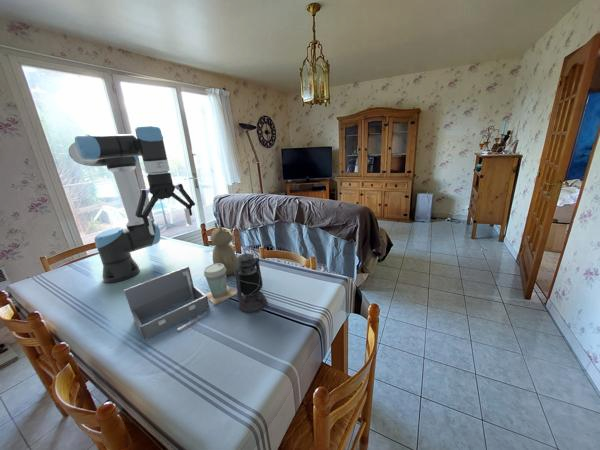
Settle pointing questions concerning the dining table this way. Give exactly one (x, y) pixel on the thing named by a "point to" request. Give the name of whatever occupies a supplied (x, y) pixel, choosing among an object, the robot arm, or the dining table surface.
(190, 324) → the bar
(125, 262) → the robot arm
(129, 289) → the case
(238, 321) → the dining table surface
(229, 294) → the cork pad
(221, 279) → the coffee cup
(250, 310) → the lantern
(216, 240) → the bear
